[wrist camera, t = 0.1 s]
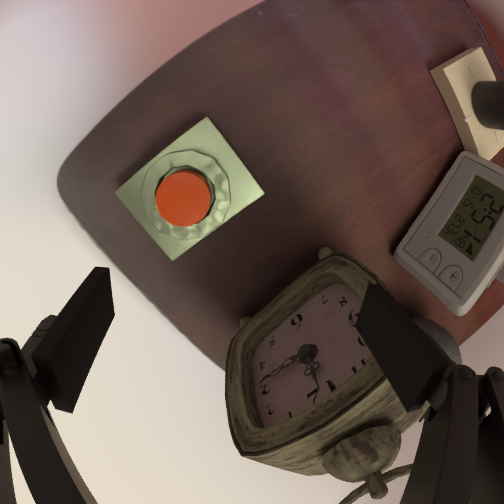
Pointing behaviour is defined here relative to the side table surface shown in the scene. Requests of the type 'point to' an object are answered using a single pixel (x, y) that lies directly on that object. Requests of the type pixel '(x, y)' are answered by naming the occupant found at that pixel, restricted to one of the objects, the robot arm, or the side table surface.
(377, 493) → the tabletop clock
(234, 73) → the side table surface
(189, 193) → the push button
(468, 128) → the dial panel
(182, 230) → the button block
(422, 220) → the digital clock
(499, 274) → the product box
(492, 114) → the dial
